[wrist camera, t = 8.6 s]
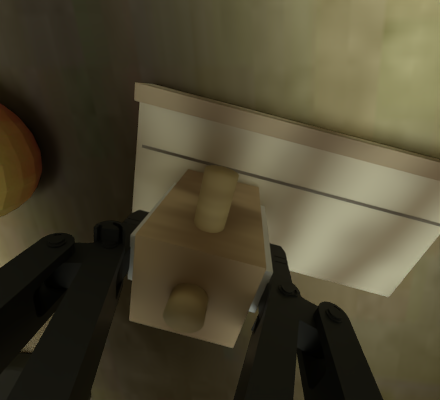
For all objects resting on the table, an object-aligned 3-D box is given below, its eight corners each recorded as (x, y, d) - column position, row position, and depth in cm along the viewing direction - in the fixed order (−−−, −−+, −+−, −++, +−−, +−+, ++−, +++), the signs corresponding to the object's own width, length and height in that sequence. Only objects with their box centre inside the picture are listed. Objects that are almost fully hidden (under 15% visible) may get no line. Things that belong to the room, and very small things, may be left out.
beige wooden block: (177, 228, 18) (118, 341, 10) (194, 132, 15) (124, 183, 6) (239, 244, 18) (231, 371, 10) (270, 152, 14) (296, 227, 6)
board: (141, 216, 21) (126, 233, 18) (153, 83, 16) (135, 82, 13) (376, 279, 21) (394, 305, 18) (461, 165, 16) (501, 178, 13)
